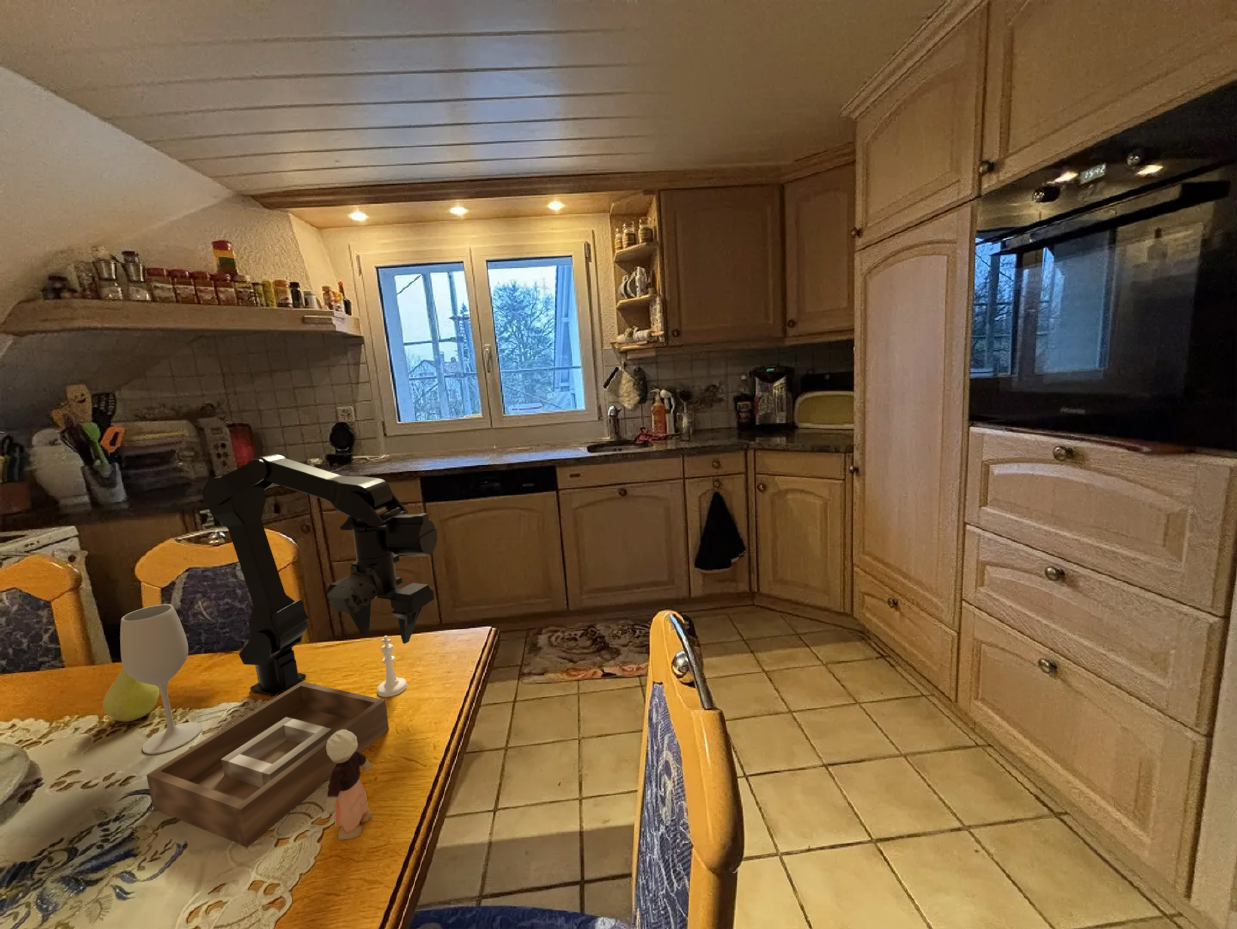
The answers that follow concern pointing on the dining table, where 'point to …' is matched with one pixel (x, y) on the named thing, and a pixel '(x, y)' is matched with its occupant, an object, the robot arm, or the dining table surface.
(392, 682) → the chess piece
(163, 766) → the walnut box
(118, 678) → the fruit
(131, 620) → the wineglass
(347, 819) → the grandmother figurine
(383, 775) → the dining table surface
